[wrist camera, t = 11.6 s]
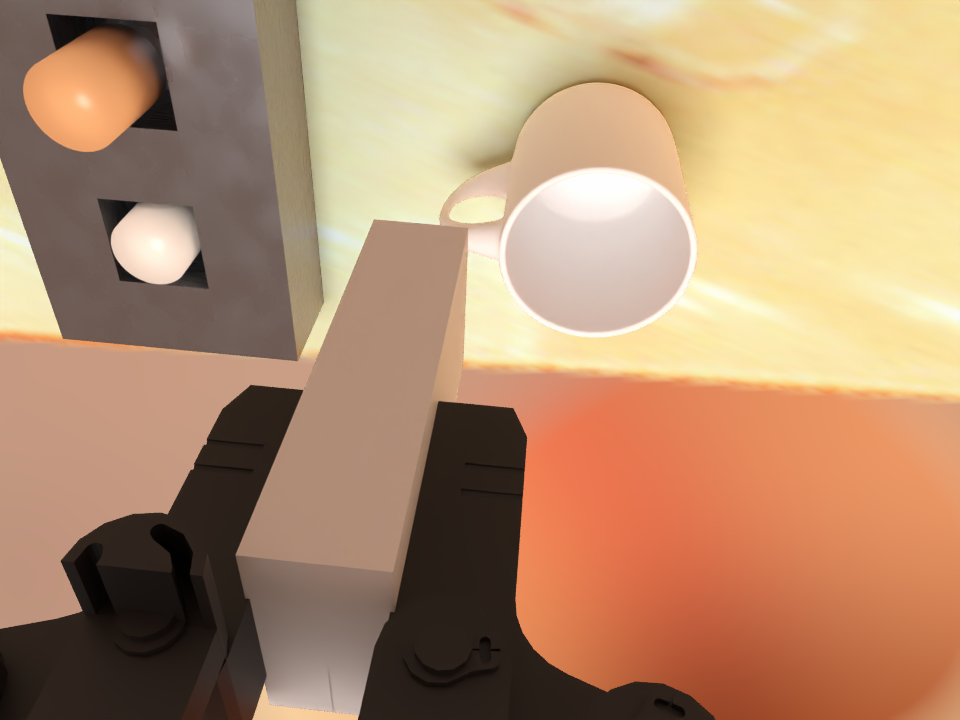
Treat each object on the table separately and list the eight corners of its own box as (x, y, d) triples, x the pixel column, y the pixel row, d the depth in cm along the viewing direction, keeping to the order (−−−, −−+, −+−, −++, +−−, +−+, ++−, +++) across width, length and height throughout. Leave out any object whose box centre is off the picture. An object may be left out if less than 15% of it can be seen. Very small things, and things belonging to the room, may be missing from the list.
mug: (442, 89, 42) (407, 180, 34) (677, 69, 40) (702, 160, 32) (463, 234, 47) (438, 344, 39) (672, 222, 46) (693, 334, 37)
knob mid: (70, 19, 37) (10, 54, 33) (156, 26, 36) (105, 62, 33) (93, 105, 39) (39, 148, 35) (173, 112, 39) (128, 155, 35)
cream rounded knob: (144, 171, 45) (102, 214, 41) (214, 177, 45) (179, 221, 41) (158, 234, 47) (120, 280, 43) (225, 240, 47) (193, 287, 43)
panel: (-85, -393, 32) (-198, -413, 27) (260, -376, 31) (204, -393, 27) (109, 283, 52) (63, 338, 47) (323, 302, 51) (297, 361, 47)
